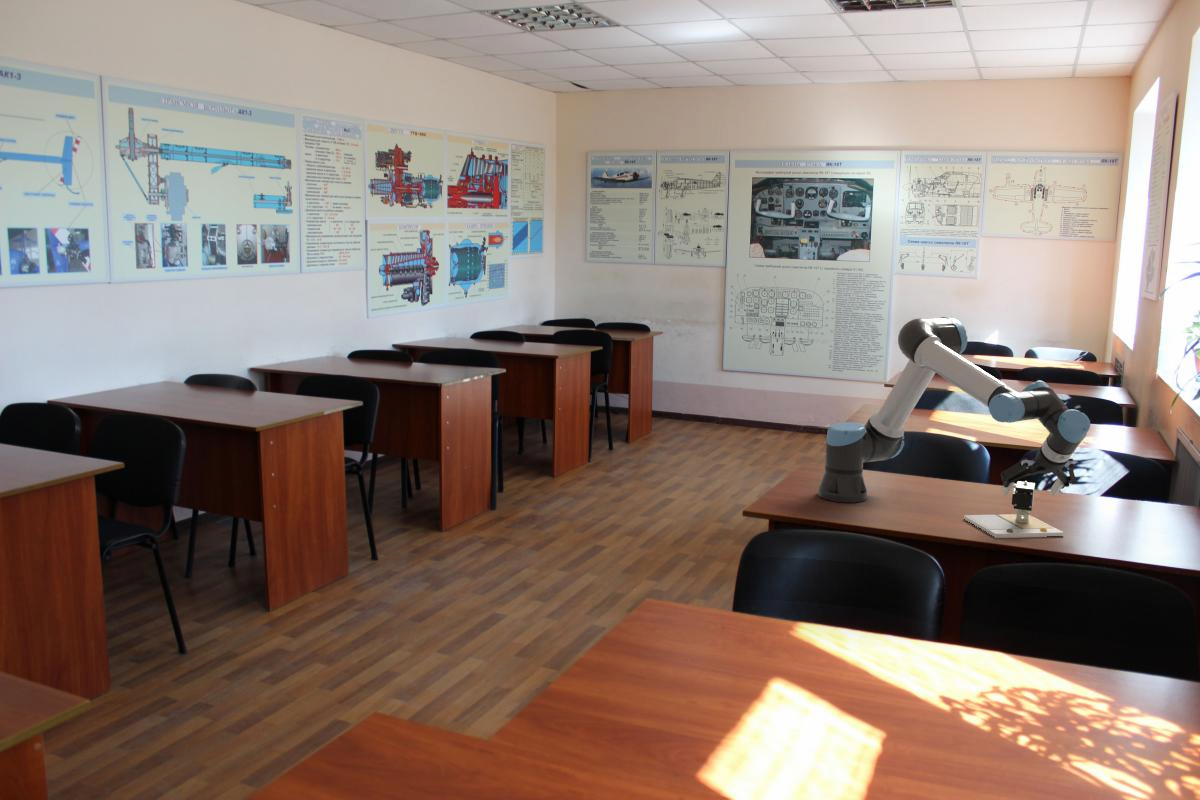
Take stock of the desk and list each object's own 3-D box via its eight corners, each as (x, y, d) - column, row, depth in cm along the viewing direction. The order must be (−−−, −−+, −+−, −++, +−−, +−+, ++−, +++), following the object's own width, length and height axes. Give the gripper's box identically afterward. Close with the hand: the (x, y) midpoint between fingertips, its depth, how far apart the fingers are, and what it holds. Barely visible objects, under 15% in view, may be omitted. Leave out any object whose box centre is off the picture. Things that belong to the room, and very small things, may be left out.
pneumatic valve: (1032, 518, 278) (1035, 478, 276) (1029, 528, 268) (1033, 486, 266) (1011, 515, 281) (1015, 475, 279) (1008, 525, 270) (1012, 484, 268)
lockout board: (963, 519, 280) (964, 512, 280) (1027, 518, 283) (1028, 511, 282) (995, 538, 263) (996, 530, 262) (1063, 536, 265) (1064, 529, 265)
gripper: (1010, 462, 255) (987, 501, 272) (1106, 465, 253) (1076, 504, 271) (1005, 439, 259) (982, 479, 276) (1099, 441, 258) (1070, 481, 275)
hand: (1028, 491), depth 274 cm, fingers open, 13 cm apart
